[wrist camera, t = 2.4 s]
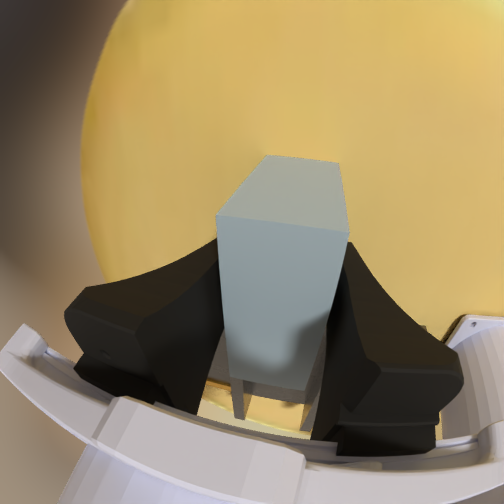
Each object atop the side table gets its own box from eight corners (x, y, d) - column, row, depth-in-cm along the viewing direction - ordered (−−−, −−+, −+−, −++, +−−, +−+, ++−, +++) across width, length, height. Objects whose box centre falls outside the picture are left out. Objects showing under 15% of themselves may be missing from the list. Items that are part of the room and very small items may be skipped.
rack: (425, 326, 14) (435, 373, 11) (373, 400, 19) (372, 436, 16) (164, 285, 17) (137, 323, 14) (188, 368, 23) (173, 399, 20)
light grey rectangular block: (338, 162, 10) (349, 232, 6) (317, 292, 14) (304, 390, 10) (267, 154, 11) (215, 214, 6) (262, 283, 15) (229, 376, 10)
